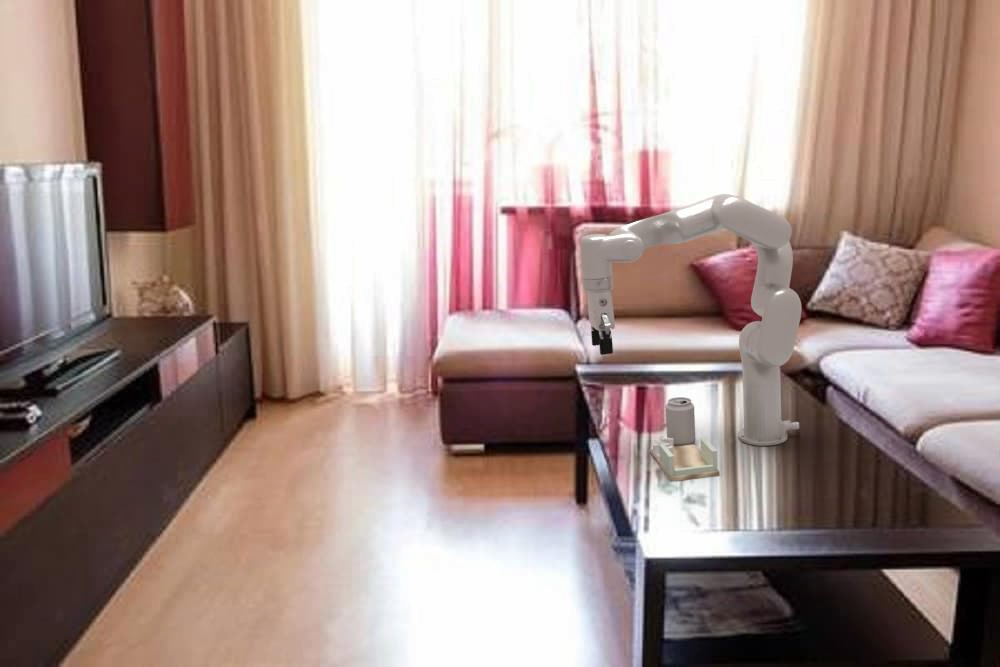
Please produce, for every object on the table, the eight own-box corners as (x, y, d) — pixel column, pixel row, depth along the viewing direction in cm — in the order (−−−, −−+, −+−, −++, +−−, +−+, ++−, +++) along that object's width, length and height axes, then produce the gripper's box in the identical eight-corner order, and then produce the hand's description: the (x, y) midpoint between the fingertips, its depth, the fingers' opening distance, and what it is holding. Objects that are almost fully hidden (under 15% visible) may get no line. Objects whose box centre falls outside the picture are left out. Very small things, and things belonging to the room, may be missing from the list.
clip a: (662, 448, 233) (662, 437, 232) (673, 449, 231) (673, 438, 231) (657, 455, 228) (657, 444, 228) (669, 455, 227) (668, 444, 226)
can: (695, 447, 234) (693, 404, 231) (666, 447, 236) (664, 404, 233) (695, 437, 241) (693, 395, 238) (667, 437, 243) (665, 395, 240)
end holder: (705, 457, 224) (705, 438, 223) (718, 471, 215) (718, 451, 214) (659, 462, 223) (658, 444, 222) (670, 477, 214) (669, 457, 213)
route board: (694, 447, 234) (694, 444, 233) (719, 475, 215) (719, 471, 214) (649, 453, 233) (649, 449, 232) (671, 481, 214) (671, 477, 213)
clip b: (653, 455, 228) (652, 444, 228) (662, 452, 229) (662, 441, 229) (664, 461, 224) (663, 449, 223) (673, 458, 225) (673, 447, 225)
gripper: (620, 287, 215) (624, 355, 219) (604, 276, 232) (609, 340, 235) (590, 291, 214) (595, 359, 218) (576, 279, 231) (581, 343, 235)
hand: (602, 349), depth 227 cm, fingers open, 9 cm apart
